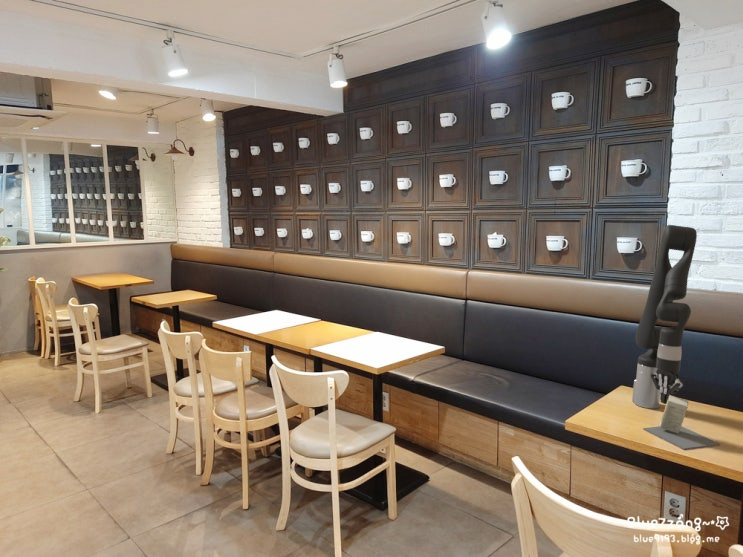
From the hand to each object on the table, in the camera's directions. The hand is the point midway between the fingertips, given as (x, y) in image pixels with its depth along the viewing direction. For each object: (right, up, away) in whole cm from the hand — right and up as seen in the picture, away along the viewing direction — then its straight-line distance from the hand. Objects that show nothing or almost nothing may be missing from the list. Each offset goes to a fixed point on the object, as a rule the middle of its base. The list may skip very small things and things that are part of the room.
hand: (664, 403), depth 187 cm
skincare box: (+1, -9, -1) cm, 9 cm away
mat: (+2, -11, -6) cm, 12 cm away
